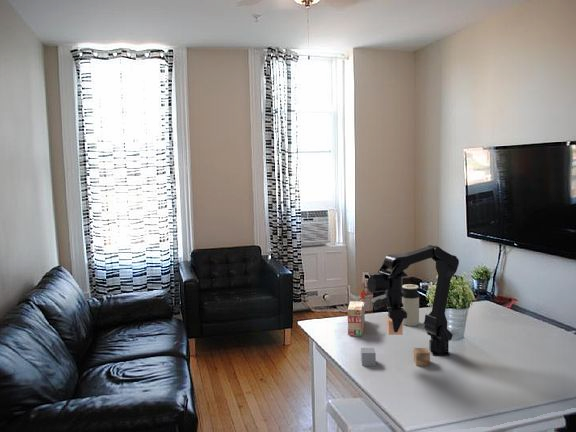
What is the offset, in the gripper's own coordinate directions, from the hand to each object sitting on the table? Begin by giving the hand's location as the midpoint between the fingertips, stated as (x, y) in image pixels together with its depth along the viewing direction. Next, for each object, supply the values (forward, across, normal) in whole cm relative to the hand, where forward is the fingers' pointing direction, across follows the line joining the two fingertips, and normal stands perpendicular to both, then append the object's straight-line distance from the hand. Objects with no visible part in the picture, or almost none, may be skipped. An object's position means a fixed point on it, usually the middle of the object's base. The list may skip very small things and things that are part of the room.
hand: (394, 329), depth 179 cm
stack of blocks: (+13, -40, -11) cm, 43 cm away
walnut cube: (+13, 0, +10) cm, 16 cm away
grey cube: (+13, 0, -10) cm, 16 cm away
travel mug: (+13, -45, +14) cm, 49 cm away
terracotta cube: (+1, 0, 0) cm, 1 cm away
